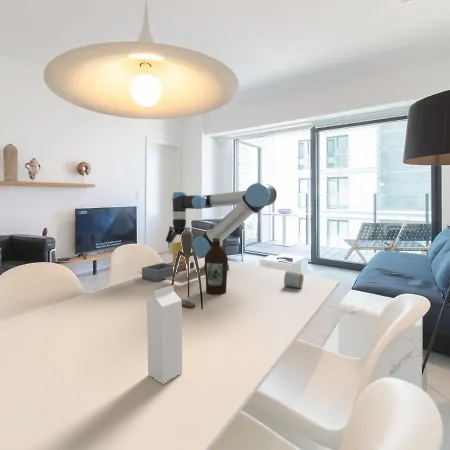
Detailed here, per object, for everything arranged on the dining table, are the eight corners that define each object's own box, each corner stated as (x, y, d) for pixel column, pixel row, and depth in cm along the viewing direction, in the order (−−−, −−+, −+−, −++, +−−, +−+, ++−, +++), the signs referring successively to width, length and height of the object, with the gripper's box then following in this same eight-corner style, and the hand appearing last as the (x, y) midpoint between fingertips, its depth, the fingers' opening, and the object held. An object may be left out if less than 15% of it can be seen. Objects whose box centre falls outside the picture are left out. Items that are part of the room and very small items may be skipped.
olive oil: (207, 287, 146) (207, 236, 144) (229, 289, 145) (229, 237, 142) (202, 295, 136) (202, 239, 133) (225, 296, 134) (226, 240, 132)
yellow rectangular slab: (186, 267, 181) (186, 241, 180) (175, 270, 174) (175, 242, 172) (183, 267, 182) (183, 240, 181) (173, 270, 175) (172, 242, 173)
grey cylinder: (300, 290, 144) (301, 274, 143) (283, 287, 147) (284, 272, 147) (304, 284, 153) (305, 269, 153) (288, 282, 157) (289, 267, 156)
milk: (182, 374, 75) (182, 287, 73) (163, 385, 71) (162, 293, 69) (166, 365, 79) (166, 282, 77) (147, 375, 75) (146, 288, 73)
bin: (178, 276, 167) (177, 265, 167) (157, 282, 155) (157, 270, 155) (162, 272, 174) (162, 262, 174) (142, 278, 162) (141, 267, 161)
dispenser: (194, 270, 181) (194, 260, 181) (177, 275, 170) (177, 265, 169) (181, 267, 187) (181, 258, 186) (165, 272, 175) (165, 262, 175)
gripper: (159, 218, 179) (159, 253, 181) (191, 220, 165) (191, 258, 167) (168, 217, 185) (168, 251, 187) (200, 219, 171) (200, 256, 173)
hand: (179, 254), depth 177 cm, fingers open, 13 cm apart
